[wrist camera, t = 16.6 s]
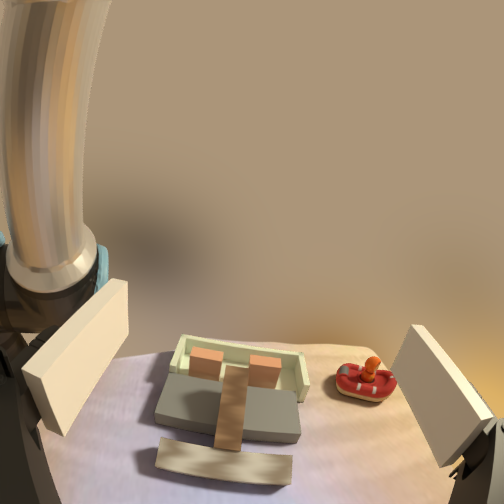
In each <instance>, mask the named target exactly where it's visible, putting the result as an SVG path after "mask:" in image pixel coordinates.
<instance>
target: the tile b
mask: <svg viewBox="0 0 504 504" xmlns="http://www.w3.org/2000/svg"><path fill="white" fill-rule="evenodd" d="M247 368H249V377H248V386H252V387H260V388H268V389H275V388H276V385H277V381H278V378H279V375H280V372H281V368H282V367H281V358H273V357H266V356H258V355H251V354H250V358H249V363H248V367H247Z"/></svg>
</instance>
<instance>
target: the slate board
mask: <svg viewBox="0 0 504 504" xmlns="http://www.w3.org/2000/svg"><path fill="white" fill-rule="evenodd" d="M222 387H223V382H218V381H213V380H207V379H201V378H196V377H191V376H186V375H181V374H177V373H172V372H169V374H168V377H167V380H166V382H165V385H164V388H163V390H162V393H161V396H160V398H159V401H158V404H157V407H156V409H155V412H154V414H155V423H157V424H161V425H165V426H170V427H174V428H179V429H183V430H188V431H193V432H199V433H204V434H210V435H215V433H216V427H217V420H218V413H219V407H220V400H221V393H222ZM300 435H301V427H300V420H299V412H298V405H297V398H296V391H288V390H278V389H268V388H260V387H252V386H248V387H247V396H246V406H245V415H244V425H243V434H242V439H245V440H255V441H266V442H279V443H297V441H298V439H299V437H300Z"/></svg>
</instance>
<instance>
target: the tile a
mask: <svg viewBox="0 0 504 504" xmlns="http://www.w3.org/2000/svg"><path fill="white" fill-rule="evenodd" d="M223 353H224V352H221V351H215V350H210V349H204V348H199V347H194V346H193V348H192V351H191V354H190V360H189V375H188V376H191V377H196V378H201V379H207V380H213V381H218V382H219V379H220V373H221V366H222V360H223Z"/></svg>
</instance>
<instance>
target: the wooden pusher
mask: <svg viewBox="0 0 504 504" xmlns="http://www.w3.org/2000/svg"><path fill="white" fill-rule="evenodd" d="M248 377H249V368H244V367H237V366H230V365H226V368H225V374H224V380H223V387H222V393H221V400H220V407H219V413H218V420H217V427H216V433H215V440H214V447H213V448H212V447H206V446H201V445H195V444H190V443H185V442H180V441H176V440H171V439H167V438H163V437H161V439H160V443H159V448H158V453H157V457H156V462H155V467H157V468H159V469H163V470H167V471H171V472H176V473H180V474H185V475H190V476H196V477H201V478H207V479H214V480H221V481H229V482H237V483H248V484H261V485H282V486H286V485H290V484H291V478H292V456H293V455H275V454H262V453H251V452H241V443H242V434H243V425H244V415H245V406H246V396H247V387H248Z"/></svg>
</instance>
